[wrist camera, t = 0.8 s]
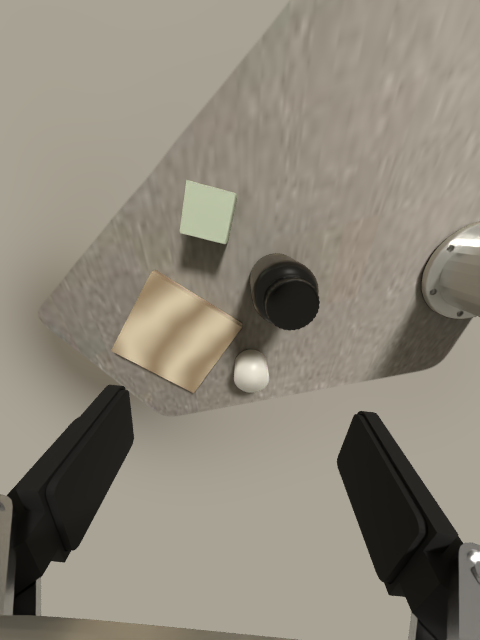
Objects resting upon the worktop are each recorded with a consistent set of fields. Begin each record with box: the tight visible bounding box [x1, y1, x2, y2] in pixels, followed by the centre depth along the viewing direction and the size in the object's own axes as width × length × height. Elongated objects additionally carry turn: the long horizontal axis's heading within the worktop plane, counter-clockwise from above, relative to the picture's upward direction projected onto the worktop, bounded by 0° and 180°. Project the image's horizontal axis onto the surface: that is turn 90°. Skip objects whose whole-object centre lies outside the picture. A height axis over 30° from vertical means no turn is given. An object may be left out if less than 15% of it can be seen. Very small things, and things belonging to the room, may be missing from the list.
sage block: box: [180, 180, 237, 244], centre depth 26 cm, size 5×5×5 cm
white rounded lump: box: [234, 349, 269, 393], centre depth 35 cm, size 5×5×4 cm
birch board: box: [111, 270, 242, 393], centre depth 34 cm, size 14×14×2 cm
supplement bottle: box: [250, 253, 320, 330], centre depth 26 cm, size 7×7×12 cm
